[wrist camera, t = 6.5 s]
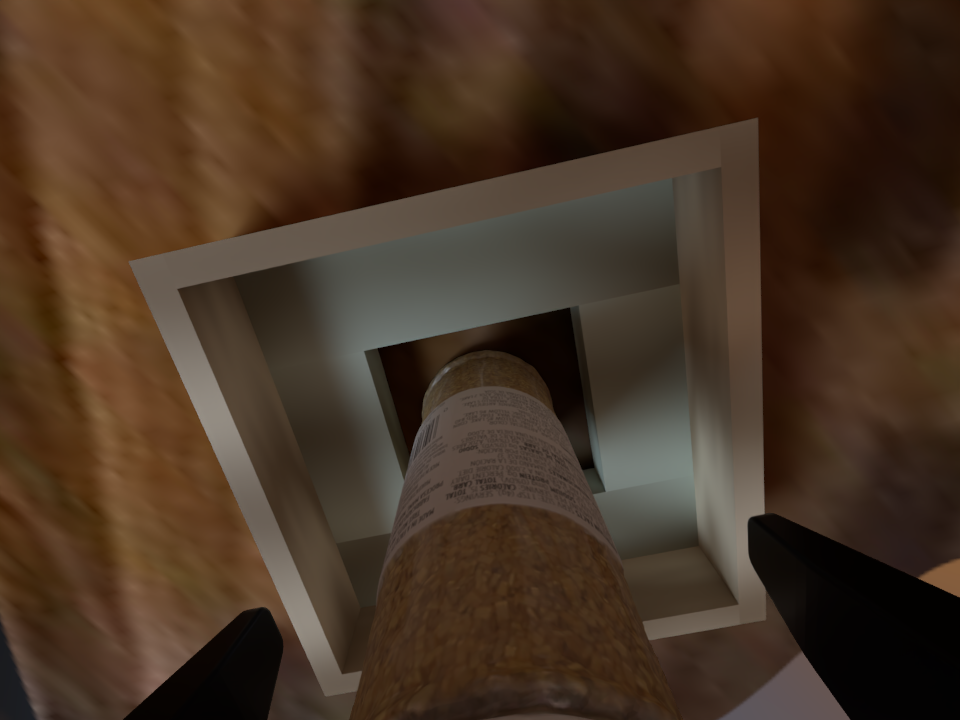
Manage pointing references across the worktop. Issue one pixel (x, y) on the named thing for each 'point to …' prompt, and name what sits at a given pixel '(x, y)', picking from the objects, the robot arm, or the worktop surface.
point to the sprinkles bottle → (503, 571)
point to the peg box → (477, 302)
